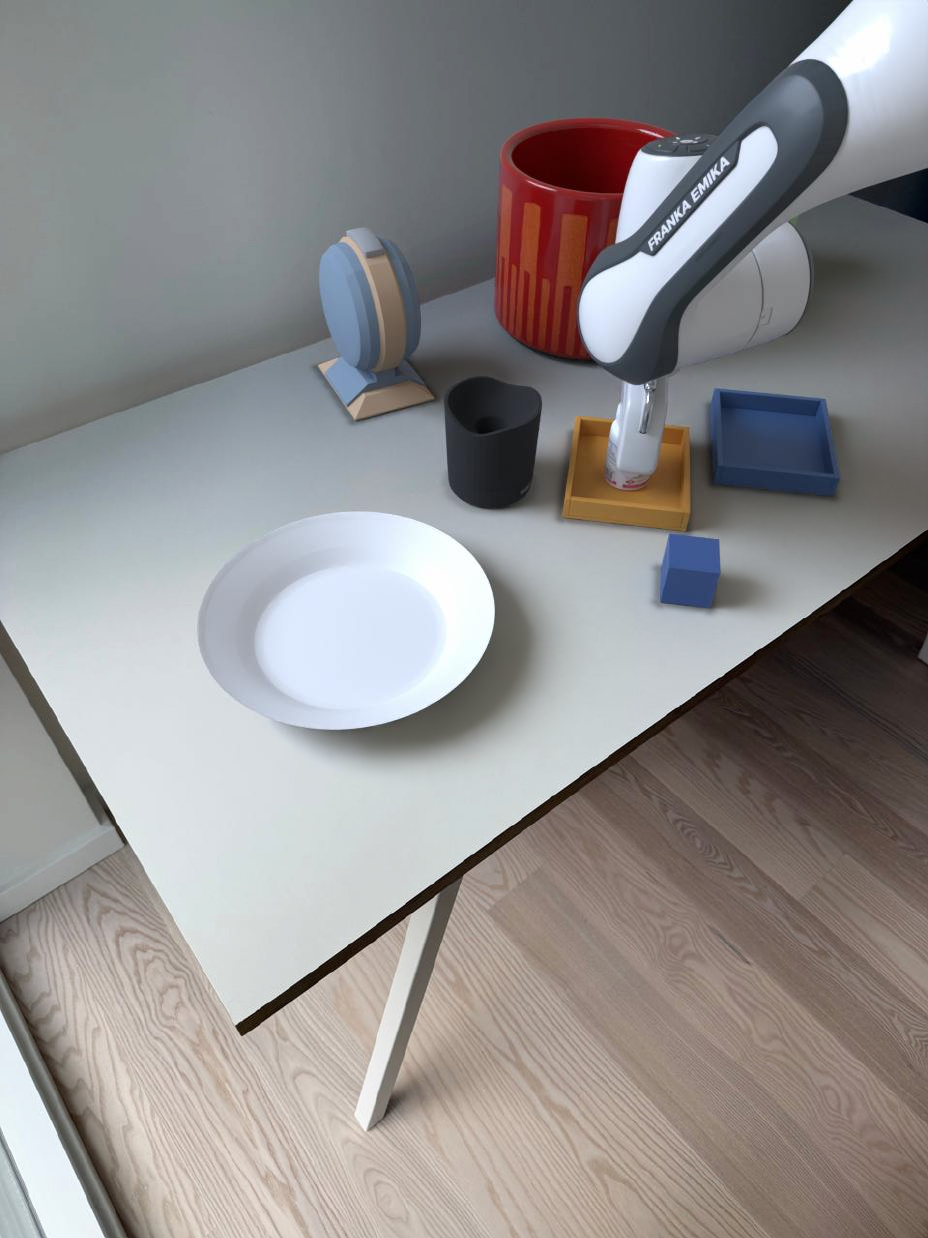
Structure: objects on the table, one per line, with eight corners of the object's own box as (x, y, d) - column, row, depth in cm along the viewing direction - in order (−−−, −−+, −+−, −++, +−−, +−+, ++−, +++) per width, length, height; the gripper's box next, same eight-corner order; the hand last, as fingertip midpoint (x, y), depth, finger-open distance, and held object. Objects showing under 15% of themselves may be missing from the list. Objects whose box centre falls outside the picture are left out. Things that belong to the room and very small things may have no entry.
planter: (556, 387, 105) (573, 213, 90) (461, 300, 118) (462, 136, 103) (709, 337, 112) (749, 169, 97) (603, 261, 126) (624, 103, 111)
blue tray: (819, 416, 101) (825, 398, 99) (833, 496, 92) (840, 478, 90) (710, 405, 102) (714, 387, 100) (712, 483, 93) (717, 465, 91)
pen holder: (468, 523, 88) (469, 440, 81) (430, 469, 94) (428, 387, 87) (551, 497, 91) (560, 415, 84) (509, 446, 97) (514, 365, 89)
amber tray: (685, 445, 97) (689, 426, 95) (685, 531, 88) (690, 513, 86) (573, 433, 99) (576, 415, 97) (562, 517, 89) (564, 498, 87)
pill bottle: (655, 470, 94) (669, 402, 87) (641, 497, 91) (655, 428, 84) (611, 458, 95) (622, 390, 89) (597, 484, 92) (607, 415, 86)
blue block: (709, 574, 84) (719, 538, 81) (710, 608, 81) (720, 573, 78) (660, 568, 84) (669, 533, 81) (659, 602, 81) (668, 567, 78)
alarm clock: (438, 404, 102) (435, 253, 89) (358, 425, 99) (344, 273, 86) (389, 344, 111) (381, 198, 98) (315, 362, 108) (296, 215, 95)
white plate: (147, 643, 78) (136, 616, 75) (356, 504, 90) (353, 476, 88) (344, 814, 66) (339, 789, 64) (551, 628, 79) (554, 600, 76)
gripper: (689, 397, 73) (660, 524, 83) (688, 278, 87) (663, 400, 97) (612, 389, 74) (593, 516, 84) (622, 273, 87) (605, 394, 98)
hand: (631, 453), depth 91 cm, fingers closed on pill bottle, 5 cm apart
